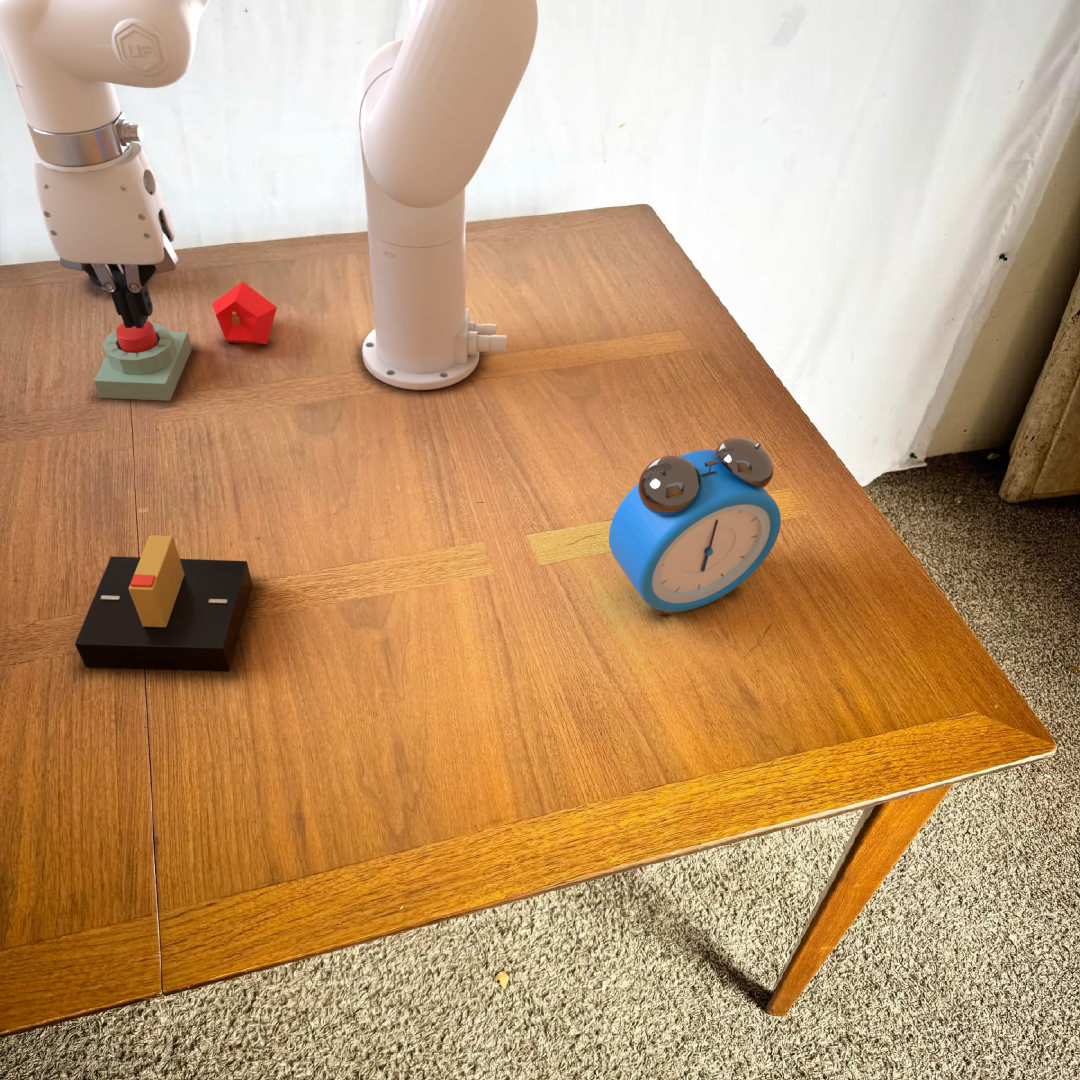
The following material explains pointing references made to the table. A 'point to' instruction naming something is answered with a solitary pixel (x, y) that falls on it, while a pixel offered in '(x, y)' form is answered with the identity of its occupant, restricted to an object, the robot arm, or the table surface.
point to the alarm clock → (697, 525)
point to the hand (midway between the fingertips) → (138, 320)
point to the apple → (244, 315)
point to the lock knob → (157, 581)
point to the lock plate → (193, 628)
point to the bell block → (143, 367)
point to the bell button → (136, 338)
